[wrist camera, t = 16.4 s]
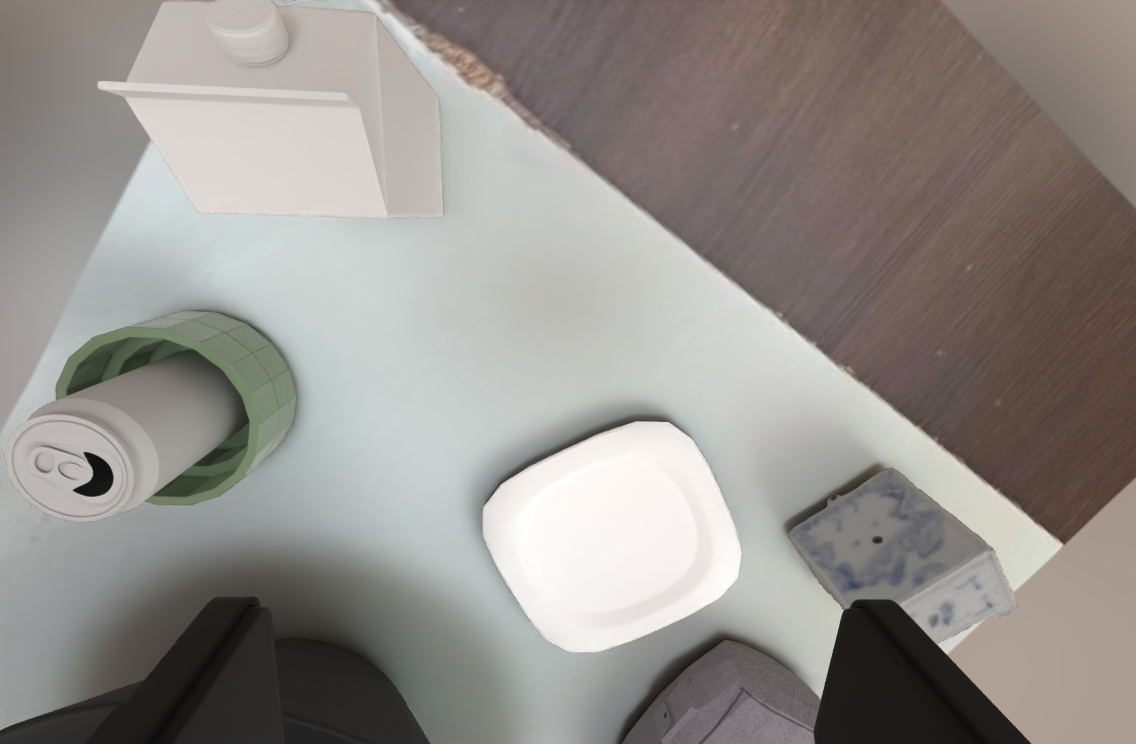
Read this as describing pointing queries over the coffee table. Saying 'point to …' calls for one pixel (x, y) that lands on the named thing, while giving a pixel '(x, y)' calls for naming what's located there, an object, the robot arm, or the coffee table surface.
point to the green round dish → (228, 348)
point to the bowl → (307, 693)
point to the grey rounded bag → (730, 703)
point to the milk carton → (287, 111)
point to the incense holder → (904, 556)
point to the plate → (613, 536)
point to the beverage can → (123, 437)
